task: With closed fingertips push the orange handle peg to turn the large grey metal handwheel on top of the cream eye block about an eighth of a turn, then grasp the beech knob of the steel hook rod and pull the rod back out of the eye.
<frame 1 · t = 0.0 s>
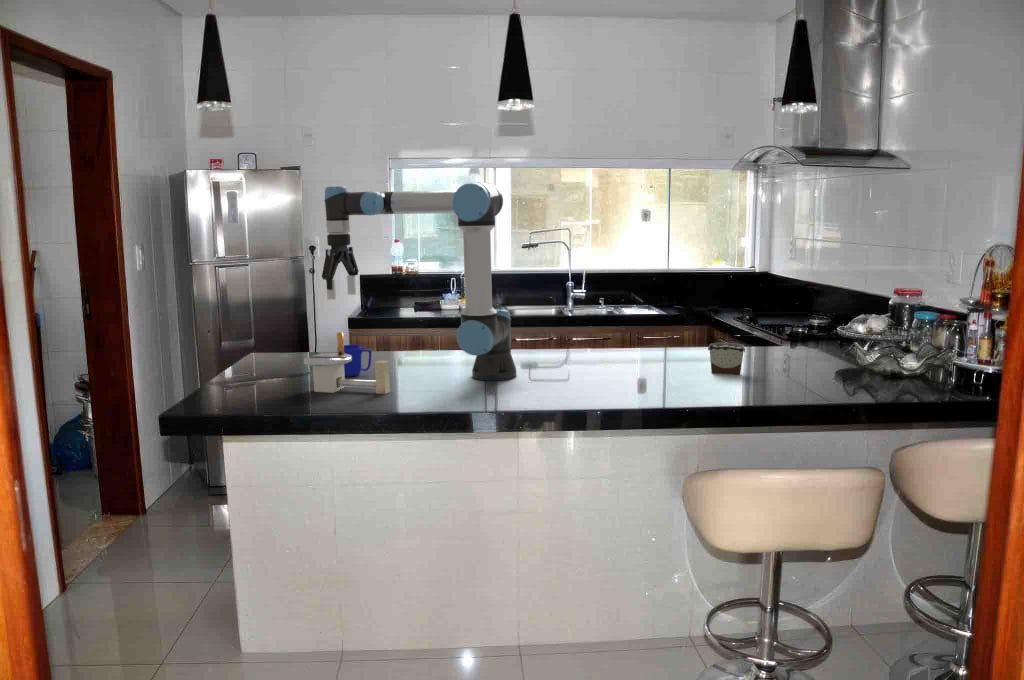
hand: (342, 296, 264), 28 cm above the worktop, fingers open, 13 cm apart
food container: (727, 373, 265), on the worktop
hook rod: (351, 375, 250), point 5 cm above the worktop, slide at 0.0 cm
handwheel: (327, 348, 250), point 13 cm above the worktop, hinge at 0.0°
mug: (356, 375, 273), on the worktop
eye block: (330, 389, 253), on the worktop
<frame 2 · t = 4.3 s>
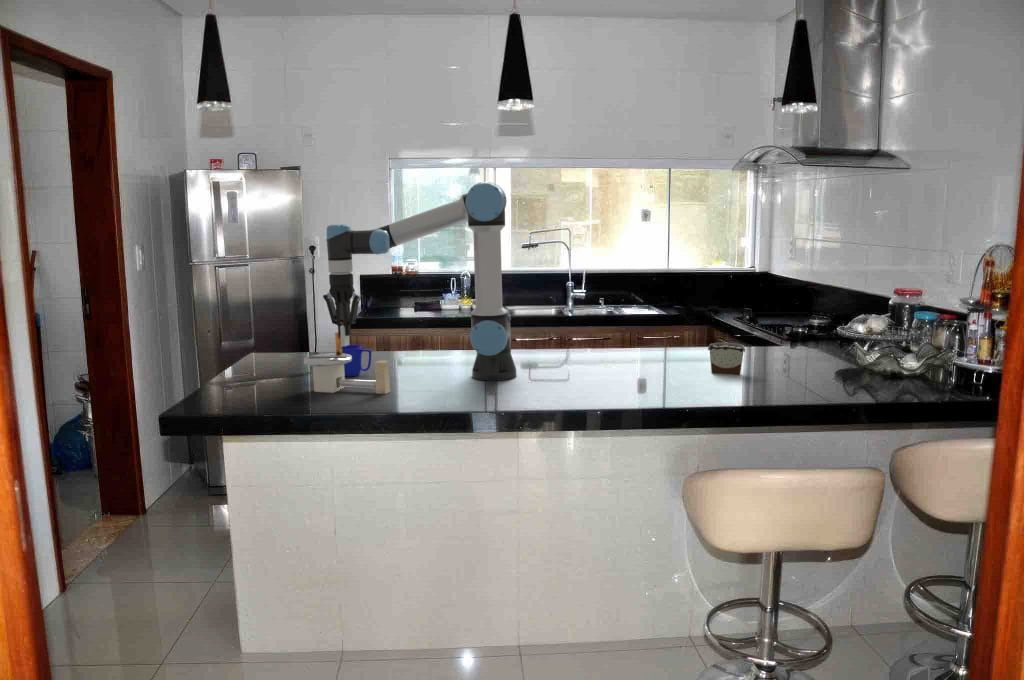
hand: (345, 345, 255), 14 cm above the worktop, fingers closed
handwheel: (327, 348, 250), point 13 cm above the worktop, hinge at 6.5°, touching gripper
everything else where it was.
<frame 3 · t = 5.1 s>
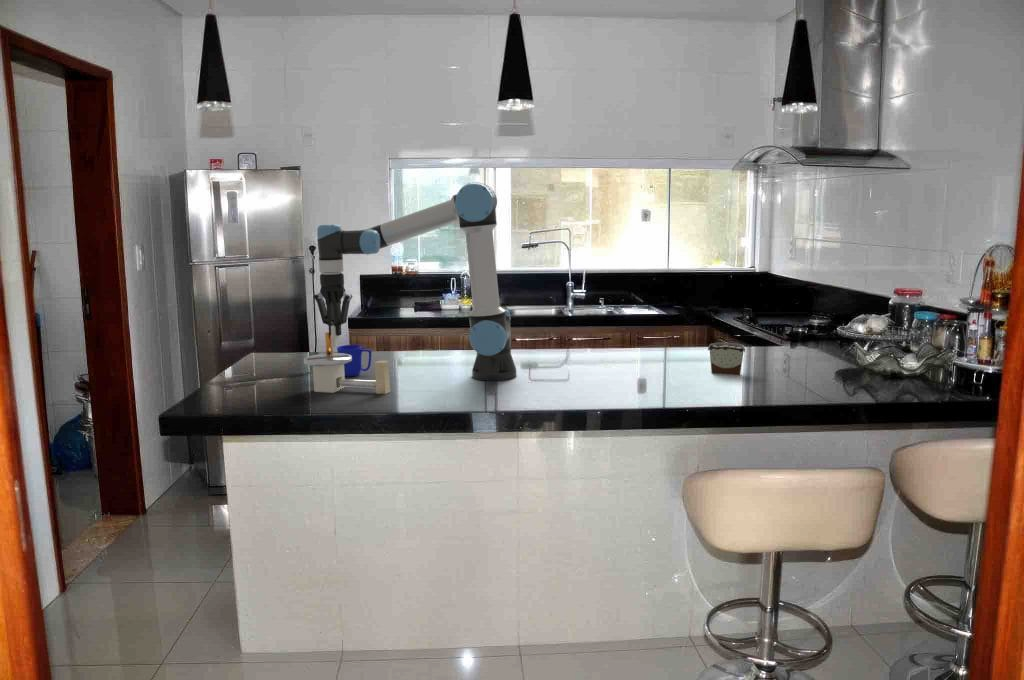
hand: (335, 345, 255), 14 cm above the worktop, fingers closed
handwheel: (327, 348, 250), point 13 cm above the worktop, hinge at 36.1°, touching gripper
everything else where it was.
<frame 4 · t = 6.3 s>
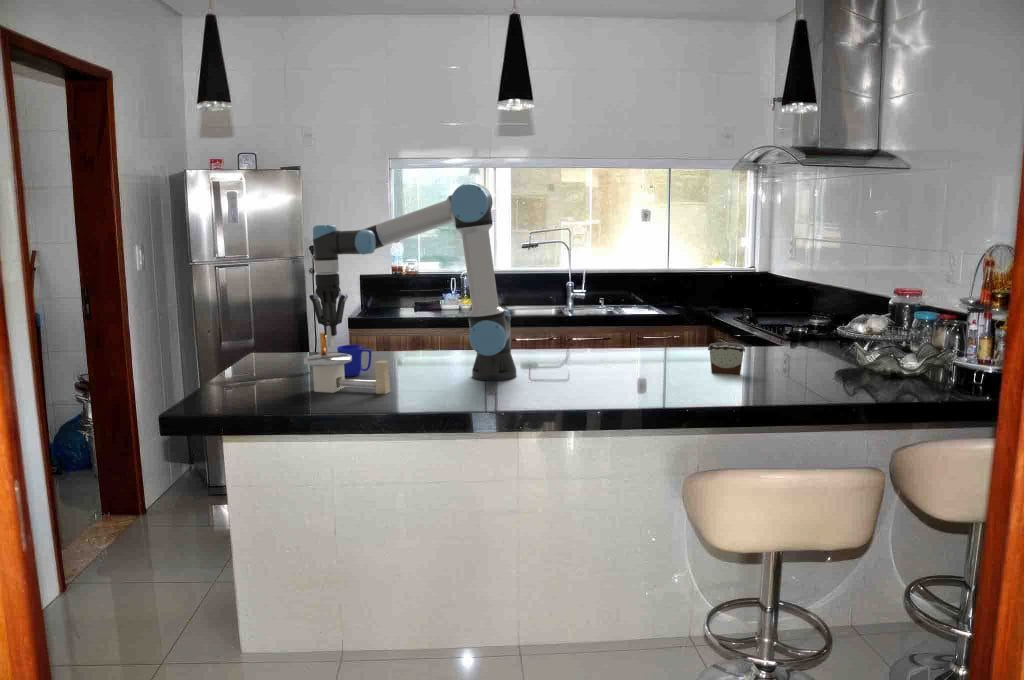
hand: (331, 345, 255), 14 cm above the worktop, fingers closed
handwheel: (327, 348, 250), point 13 cm above the worktop, hinge at 51.2°, touching gripper
everything else where it was.
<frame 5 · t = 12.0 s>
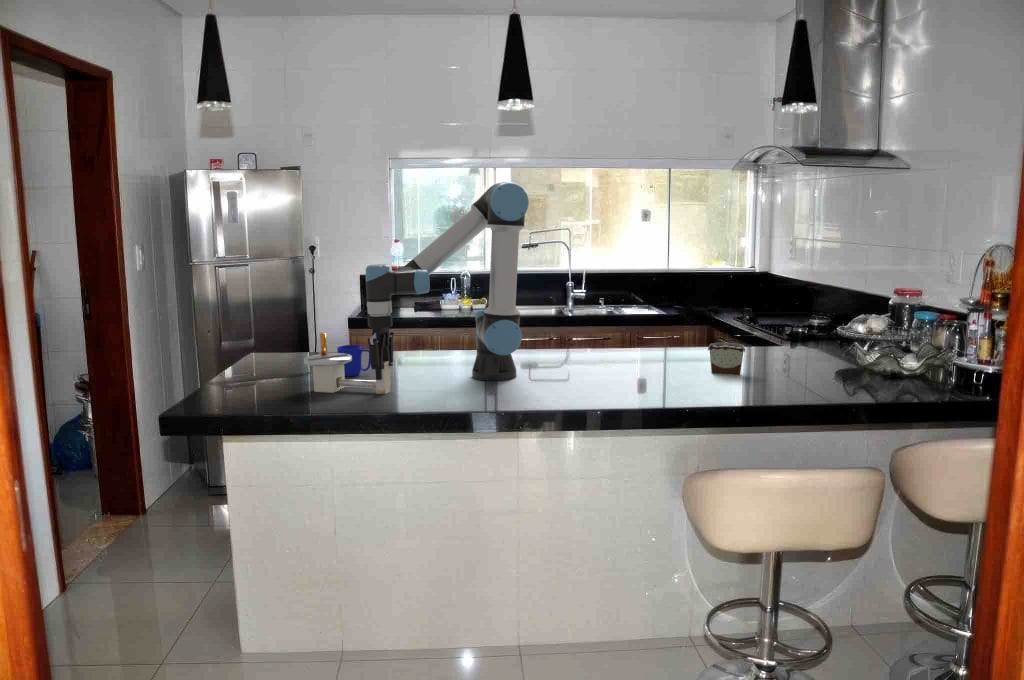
hand: (383, 387, 247), 2 cm above the worktop, fingers closed on hook rod, 3 cm apart
hook rod: (351, 375, 250), point 5 cm above the worktop, slide at 0.0 cm, touching gripper
handwheel: (327, 348, 250), point 13 cm above the worktop, hinge at 51.2°
everything else where it was.
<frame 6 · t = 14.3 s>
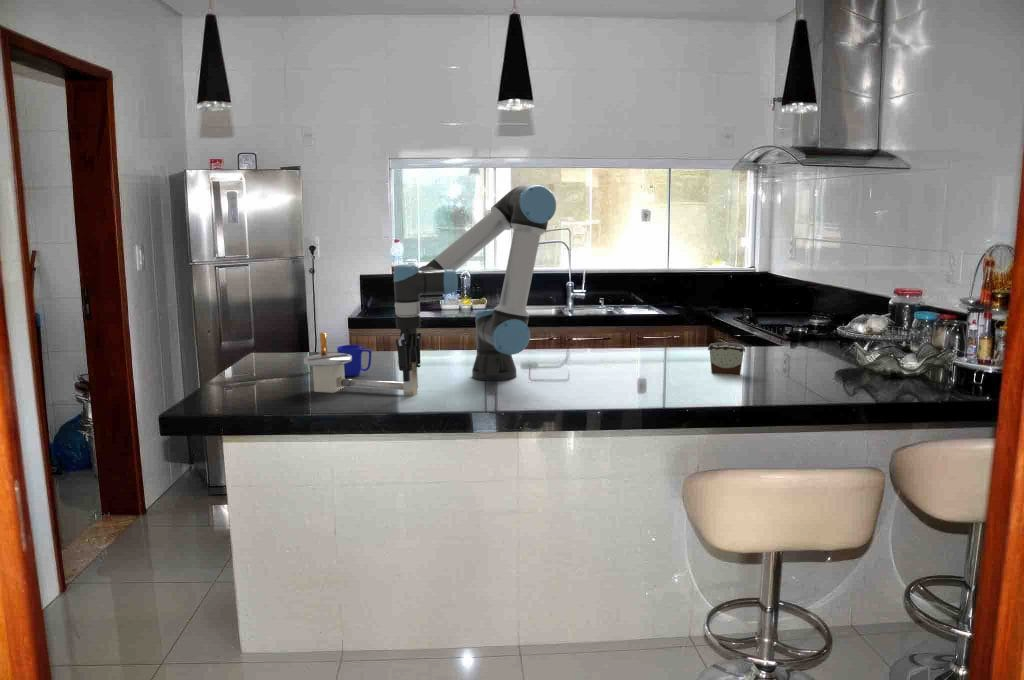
hand: (410, 389, 244), 2 cm above the worktop, fingers closed on hook rod, 3 cm apart
hook rod: (378, 376, 247), point 5 cm above the worktop, slide at 9.5 cm, touching gripper
everything else where it was.
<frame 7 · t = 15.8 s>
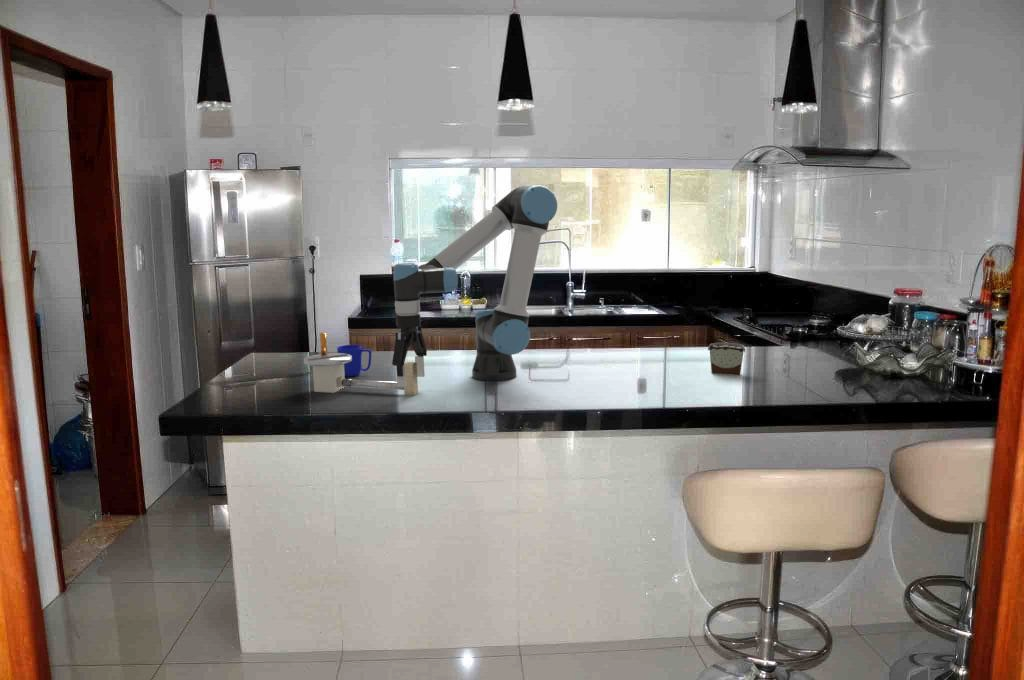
hand: (411, 381, 244), 4 cm above the worktop, fingers open, 13 cm apart
hook rod: (378, 377, 247), point 5 cm above the worktop, slide at 9.7 cm
everything else where it was.
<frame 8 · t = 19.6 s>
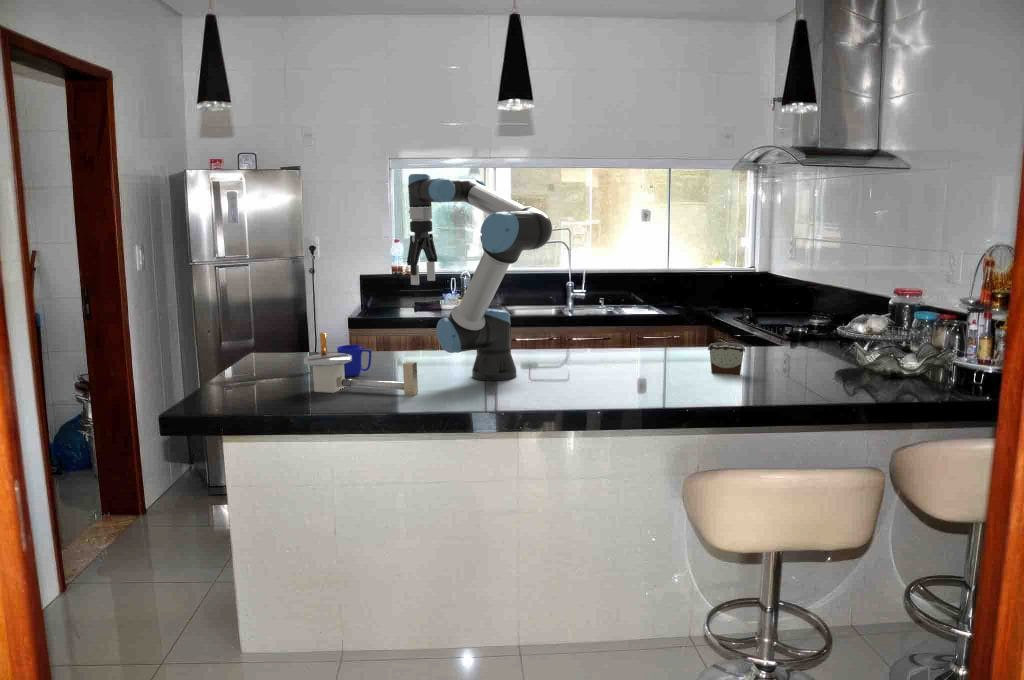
hand: (423, 282, 269), 32 cm above the worktop, fingers open, 13 cm apart
nothing on the worktop moved.
at the end: handwheel at +51° (first picture: +0°); hook rod slide at 9.7 cm; the gripper is holding nothing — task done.
